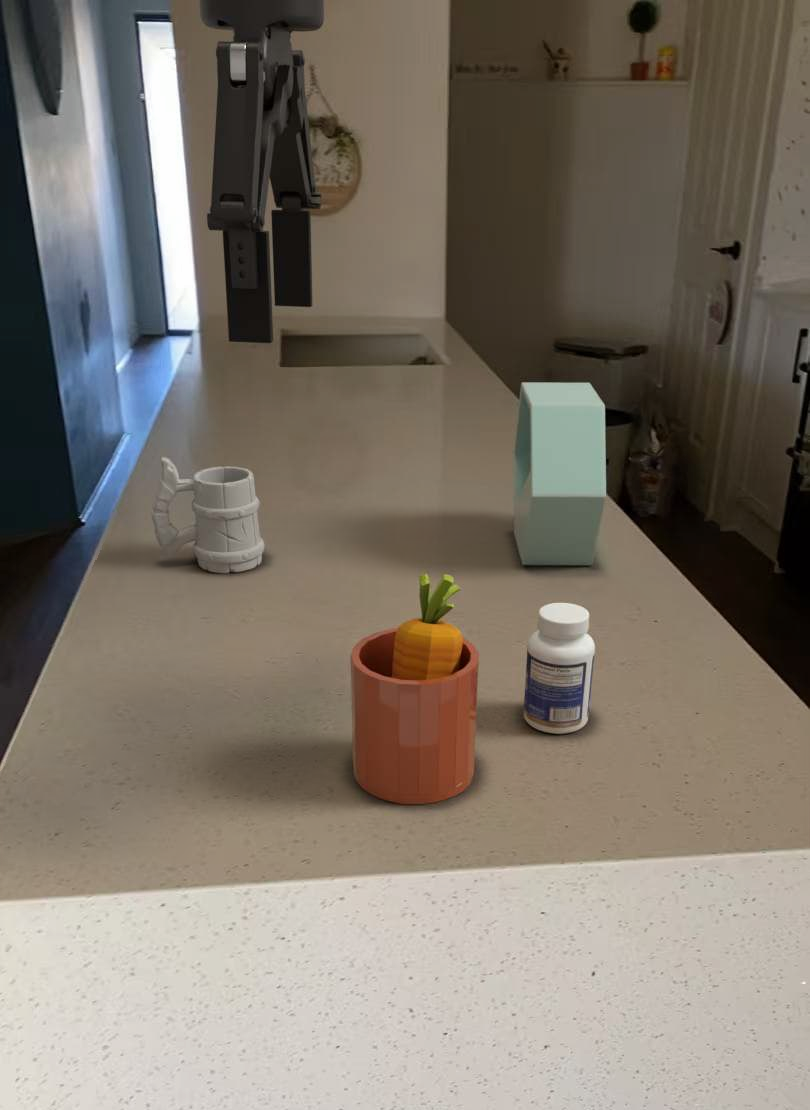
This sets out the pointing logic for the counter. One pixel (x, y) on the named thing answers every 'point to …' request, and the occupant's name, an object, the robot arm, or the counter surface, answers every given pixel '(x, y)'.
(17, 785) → the counter surface
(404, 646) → the carrot
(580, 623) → the pill bottle
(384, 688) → the cup
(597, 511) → the planter
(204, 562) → the mug
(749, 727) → the counter surface
